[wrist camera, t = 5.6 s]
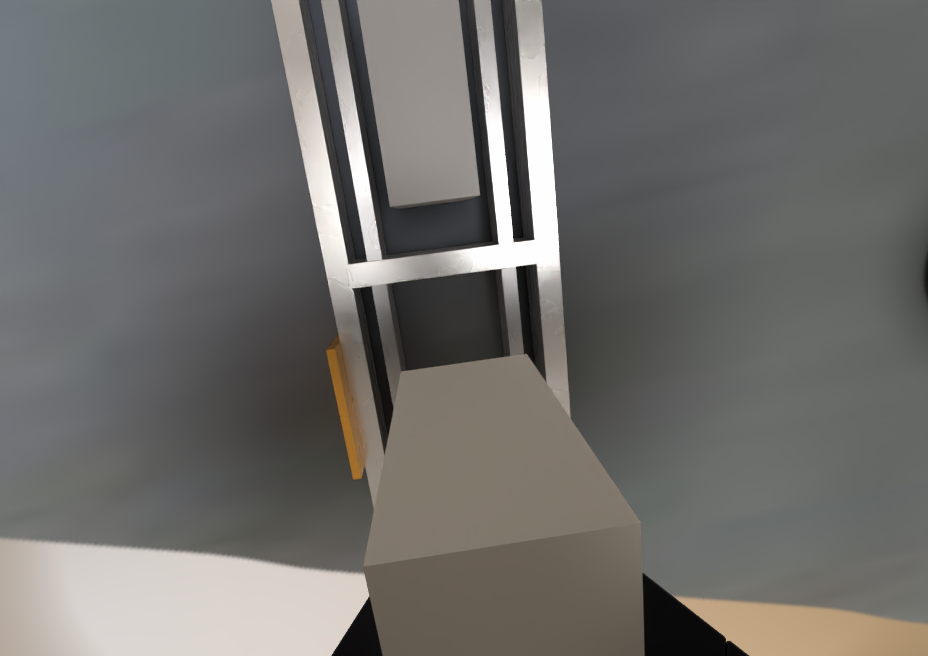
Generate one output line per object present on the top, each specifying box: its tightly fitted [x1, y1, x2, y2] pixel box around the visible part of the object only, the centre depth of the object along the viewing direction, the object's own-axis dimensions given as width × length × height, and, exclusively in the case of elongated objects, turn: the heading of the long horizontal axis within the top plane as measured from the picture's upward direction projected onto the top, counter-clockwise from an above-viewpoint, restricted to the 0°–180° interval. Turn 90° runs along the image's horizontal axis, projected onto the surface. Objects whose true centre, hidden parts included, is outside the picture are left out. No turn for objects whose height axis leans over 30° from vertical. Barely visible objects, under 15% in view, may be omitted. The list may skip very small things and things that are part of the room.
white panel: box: [363, 354, 645, 656], centre depth 7 cm, size 2×7×5 cm, turn 7°
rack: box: [271, 0, 571, 508], centre depth 16 cm, size 8×20×2 cm, turn 7°
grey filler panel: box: [357, 0, 480, 209], centre depth 14 cm, size 2×6×4 cm, turn 7°
